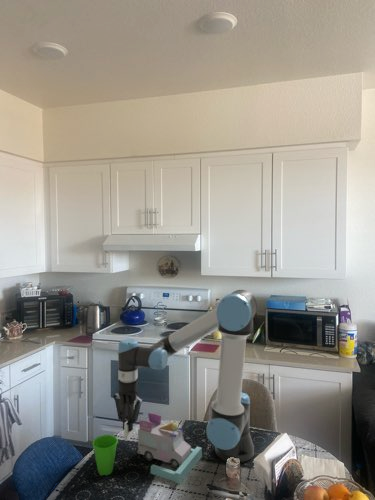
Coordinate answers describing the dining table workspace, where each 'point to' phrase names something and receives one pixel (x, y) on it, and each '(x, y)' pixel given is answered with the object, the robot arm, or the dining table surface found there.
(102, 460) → the cup
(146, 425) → the toy vehicle
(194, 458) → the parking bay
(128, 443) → the dining table surface
